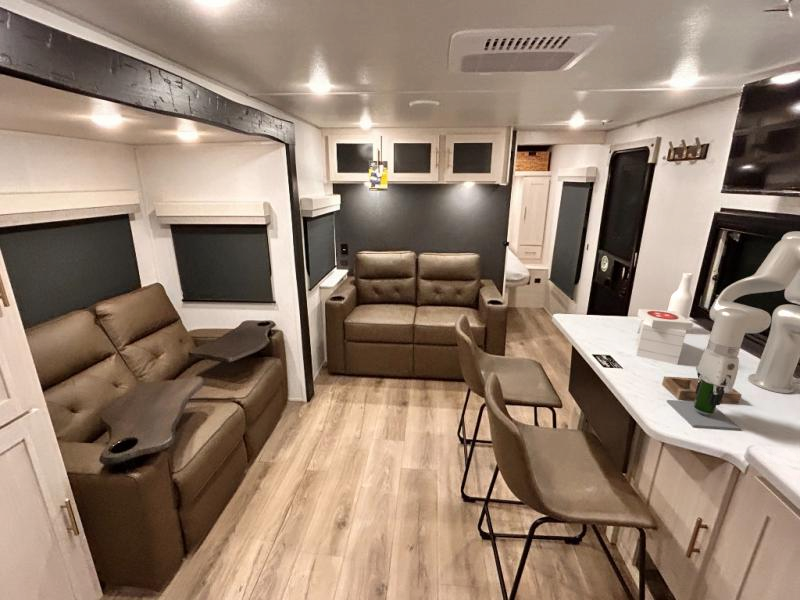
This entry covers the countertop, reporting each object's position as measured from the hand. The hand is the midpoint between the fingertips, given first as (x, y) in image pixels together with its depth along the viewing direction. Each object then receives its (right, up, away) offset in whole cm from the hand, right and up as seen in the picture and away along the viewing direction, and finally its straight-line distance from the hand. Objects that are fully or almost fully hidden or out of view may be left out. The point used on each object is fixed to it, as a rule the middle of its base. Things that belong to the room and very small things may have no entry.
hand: (707, 398), depth 121 cm
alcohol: (+42, +16, +73) cm, 86 cm away
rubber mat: (0, -6, +2) cm, 6 cm away
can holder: (+9, -2, +15) cm, 17 cm away
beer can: (0, -4, +2) cm, 5 cm away
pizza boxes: (+17, +9, +50) cm, 54 cm away
